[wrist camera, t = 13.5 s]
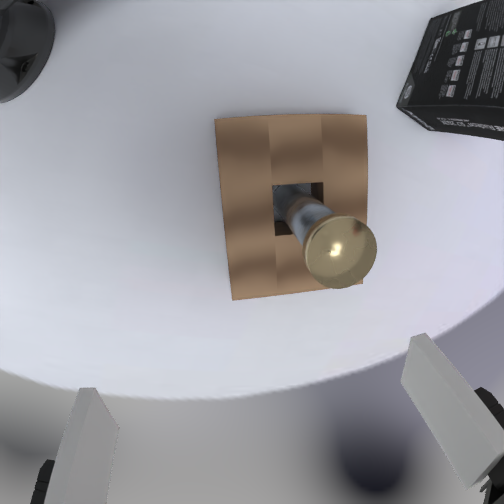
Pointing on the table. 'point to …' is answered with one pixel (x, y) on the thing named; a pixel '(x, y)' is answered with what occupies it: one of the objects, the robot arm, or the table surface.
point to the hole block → (280, 173)
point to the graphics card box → (460, 73)
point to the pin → (327, 238)
